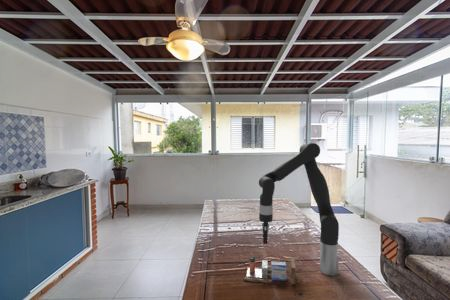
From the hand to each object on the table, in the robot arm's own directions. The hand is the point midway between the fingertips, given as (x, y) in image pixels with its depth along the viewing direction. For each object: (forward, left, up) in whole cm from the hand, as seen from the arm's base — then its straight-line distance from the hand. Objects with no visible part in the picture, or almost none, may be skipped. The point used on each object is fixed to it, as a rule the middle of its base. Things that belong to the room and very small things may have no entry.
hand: (265, 240), depth 137 cm
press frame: (-2, +3, -19) cm, 20 cm away
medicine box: (-7, +4, -20) cm, 21 cm away
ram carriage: (+4, +3, -19) cm, 20 cm away
